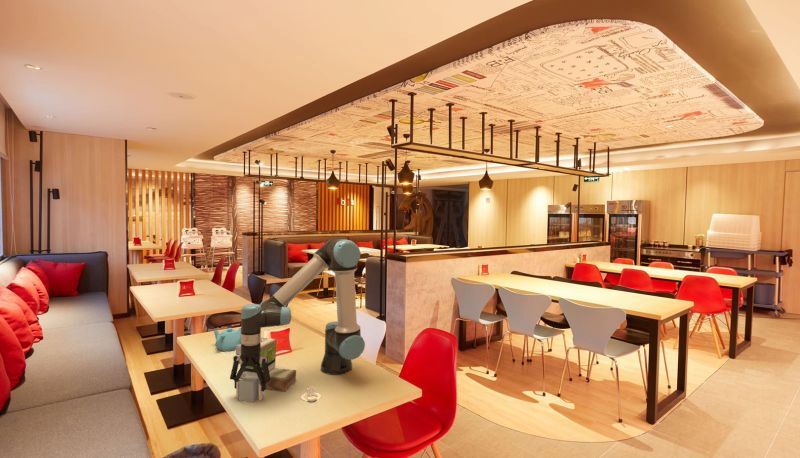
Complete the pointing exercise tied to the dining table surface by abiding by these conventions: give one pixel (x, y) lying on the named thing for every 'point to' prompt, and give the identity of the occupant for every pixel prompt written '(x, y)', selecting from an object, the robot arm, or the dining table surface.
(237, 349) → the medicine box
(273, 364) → the tea box
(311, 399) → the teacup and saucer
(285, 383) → the plinth
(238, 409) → the dining table surface
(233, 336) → the teapot
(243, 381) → the block
